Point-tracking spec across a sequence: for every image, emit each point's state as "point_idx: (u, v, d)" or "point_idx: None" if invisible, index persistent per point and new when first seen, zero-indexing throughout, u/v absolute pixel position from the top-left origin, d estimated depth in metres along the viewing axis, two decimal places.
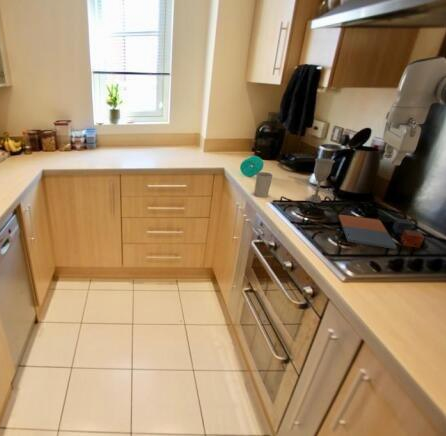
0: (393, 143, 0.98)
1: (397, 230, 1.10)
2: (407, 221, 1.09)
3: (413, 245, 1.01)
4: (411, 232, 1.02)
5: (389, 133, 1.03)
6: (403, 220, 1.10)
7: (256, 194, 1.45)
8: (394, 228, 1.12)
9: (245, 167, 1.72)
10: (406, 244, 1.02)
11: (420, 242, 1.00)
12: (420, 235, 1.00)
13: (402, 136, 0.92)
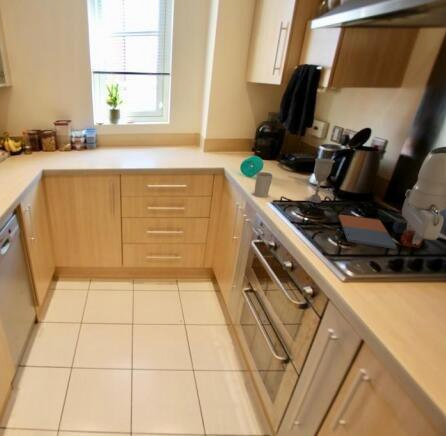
0: (414, 225, 0.98)
1: (397, 230, 1.10)
2: None
3: (413, 245, 1.01)
4: (411, 232, 1.02)
5: (409, 211, 1.03)
6: (403, 220, 1.10)
7: (256, 194, 1.45)
8: (394, 228, 1.12)
9: (245, 167, 1.72)
10: (406, 244, 1.02)
11: (420, 242, 1.00)
12: None
13: (424, 223, 0.93)
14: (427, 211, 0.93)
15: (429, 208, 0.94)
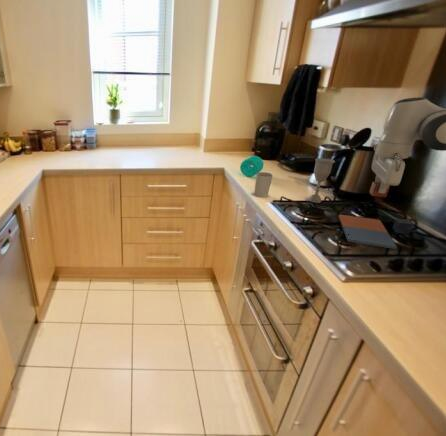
0: (380, 174, 1.05)
1: (397, 230, 1.10)
2: (407, 221, 1.09)
3: (380, 195, 1.08)
4: (378, 183, 1.08)
5: (377, 164, 1.10)
6: (403, 220, 1.10)
7: (256, 194, 1.45)
8: (394, 228, 1.12)
9: (245, 167, 1.72)
10: (373, 194, 1.08)
11: (386, 191, 1.07)
12: None
13: (388, 170, 0.99)
14: (391, 159, 1.00)
15: (393, 156, 1.00)
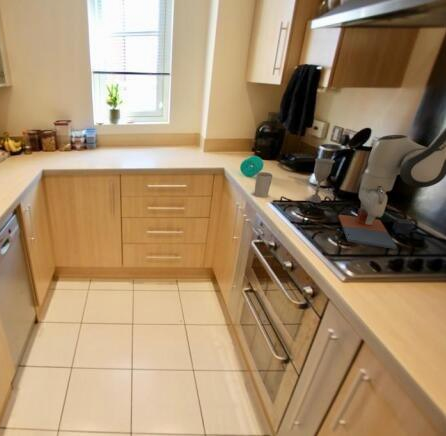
0: (365, 205, 1.11)
1: (397, 230, 1.10)
2: (407, 221, 1.09)
3: (365, 223, 1.14)
4: (364, 212, 1.15)
5: (363, 193, 1.16)
6: (403, 220, 1.10)
7: (256, 194, 1.45)
8: (394, 228, 1.12)
9: (245, 167, 1.72)
10: (359, 223, 1.14)
11: None
12: None
13: (372, 202, 1.05)
14: (375, 192, 1.06)
15: (377, 189, 1.06)
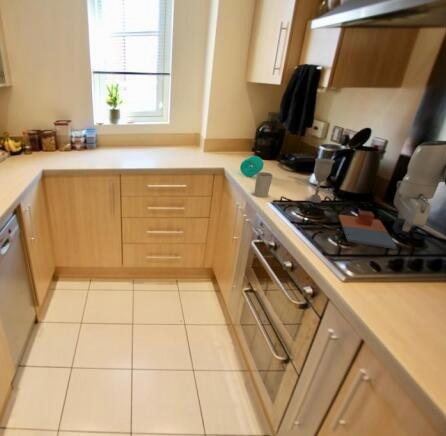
0: (404, 213, 1.07)
1: (397, 230, 1.10)
2: None
3: (365, 223, 1.14)
4: (364, 212, 1.15)
5: (400, 201, 1.12)
6: (403, 220, 1.10)
7: (256, 194, 1.45)
8: (394, 228, 1.12)
9: (245, 167, 1.72)
10: (359, 223, 1.14)
11: (371, 221, 1.13)
12: (371, 214, 1.13)
13: (413, 211, 1.01)
14: (416, 200, 1.02)
15: (417, 197, 1.02)
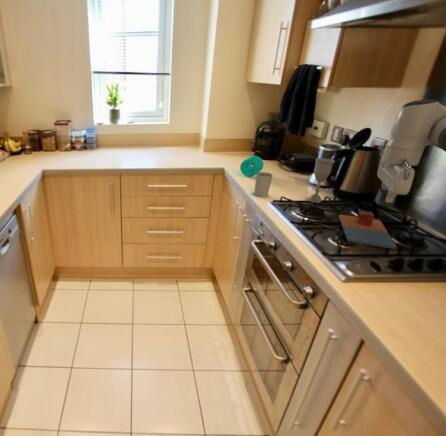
0: (387, 182, 0.98)
1: (380, 201, 1.01)
2: None
3: (365, 223, 1.14)
4: (364, 212, 1.15)
5: (383, 170, 1.03)
6: (386, 191, 1.01)
7: (256, 194, 1.45)
8: (377, 200, 1.03)
9: (245, 167, 1.72)
10: (359, 223, 1.14)
11: (371, 221, 1.13)
12: (371, 214, 1.13)
13: (396, 178, 0.92)
14: (399, 166, 0.93)
15: (401, 163, 0.93)
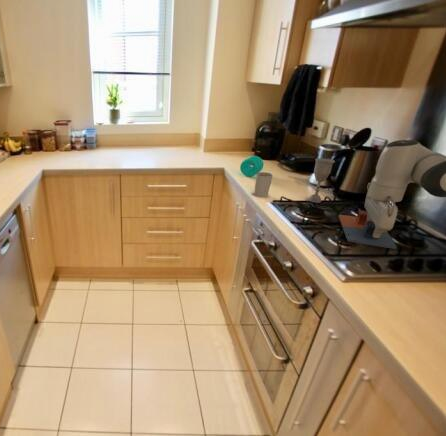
0: (373, 216, 1.02)
1: (366, 234, 1.05)
2: None
3: None
4: (364, 212, 1.15)
5: (370, 203, 1.07)
6: (372, 224, 1.06)
7: (256, 194, 1.45)
8: (363, 232, 1.07)
9: (245, 167, 1.72)
10: (359, 223, 1.14)
11: None
12: None
13: (380, 214, 0.96)
14: (383, 202, 0.97)
15: (385, 200, 0.97)
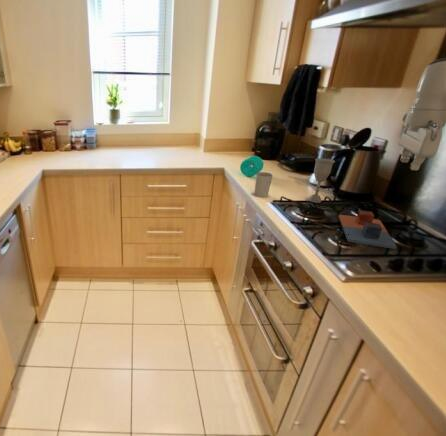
0: (411, 147, 0.93)
1: (366, 234, 1.05)
2: (376, 225, 1.05)
3: None
4: (364, 212, 1.15)
5: (406, 136, 0.98)
6: (372, 224, 1.06)
7: (256, 194, 1.45)
8: (363, 232, 1.07)
9: (245, 167, 1.72)
10: (359, 223, 1.14)
11: (371, 221, 1.13)
12: (371, 214, 1.13)
13: (422, 140, 0.87)
14: (425, 128, 0.88)
15: (427, 125, 0.89)
